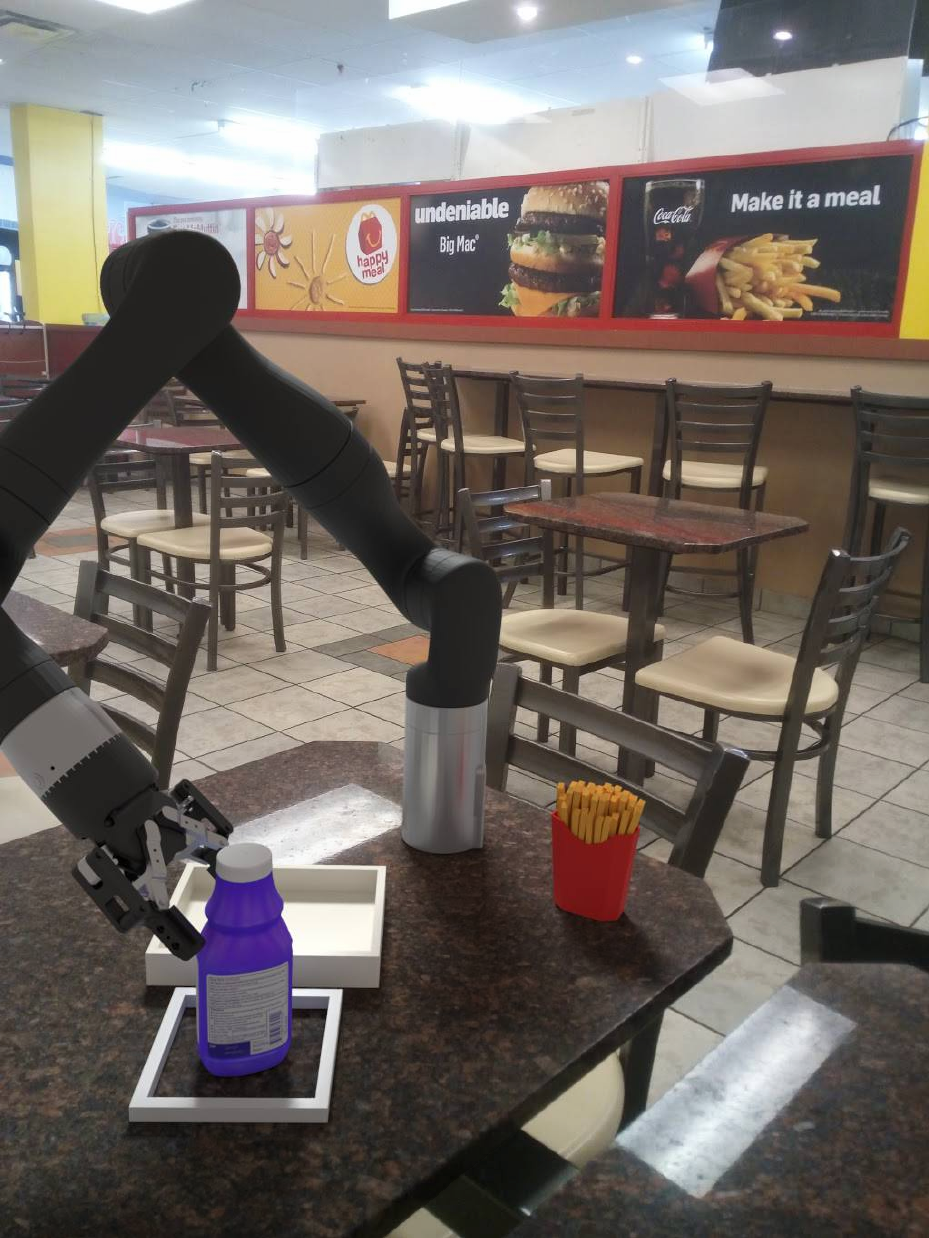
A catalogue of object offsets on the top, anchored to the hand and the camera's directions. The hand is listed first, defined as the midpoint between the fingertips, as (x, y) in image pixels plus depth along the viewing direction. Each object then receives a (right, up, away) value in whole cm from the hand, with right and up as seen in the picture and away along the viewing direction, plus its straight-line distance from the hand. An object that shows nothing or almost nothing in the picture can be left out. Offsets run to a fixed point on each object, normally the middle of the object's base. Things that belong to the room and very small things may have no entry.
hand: (223, 922), depth 76 cm
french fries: (+31, -7, +26) cm, 41 cm away
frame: (+1, -11, +2) cm, 12 cm away
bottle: (+1, -11, +3) cm, 12 cm away
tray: (0, -7, +19) cm, 20 cm away
